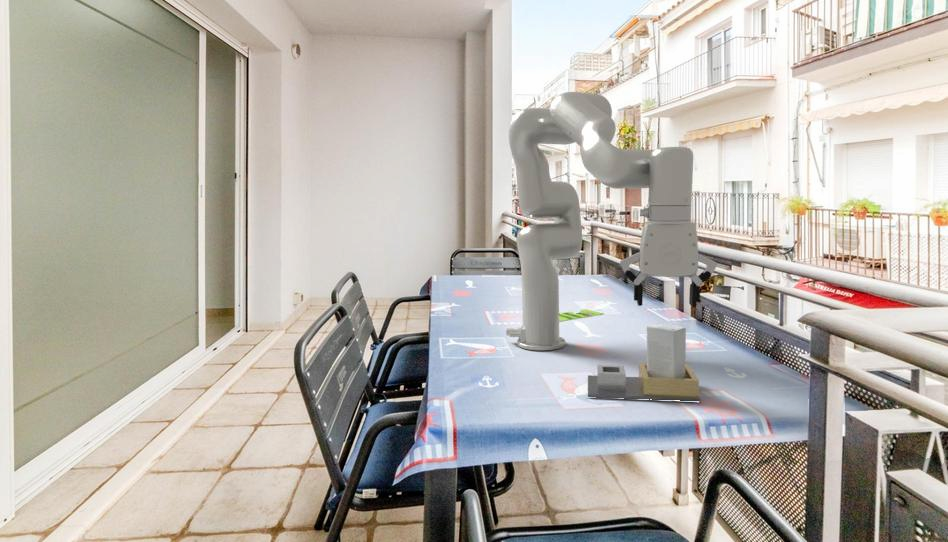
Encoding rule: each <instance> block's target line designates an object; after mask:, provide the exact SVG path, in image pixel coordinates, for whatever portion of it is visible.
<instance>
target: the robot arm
mask: <svg viewBox="0 0 948 542" xmlns="http://www.w3.org/2000/svg"><path fill="white" fill-rule="evenodd" d="M612 115H613V111H612V105H611V103H610V102H609V100H608V99H607V98H606V97H605V96H604V95H602V94H599V93H589V92H578V91H566V92H562V93H560V94H558V95H557V96H556V97H555V98H554V99H553V101H552V102H551V104H550V108H546V107H545V108H544V107H543V108H542V107H528V108H524V109H522V110H519V111H517V112H516V113H515V114H514V116H513V117H512V119H511V121H510V125H509V129H508V143H509V149H510V152H511V155H512V158H513V161H514V162H513V163H514V166H515V175H516V176H515V177H516V185H517V196H518V204H519V205H518V206H519V209H520V212H521V214H522V216H523V217H525V218H527V219H531V220H532V219H533V220H537V219H553V222H554V223H552V222H551V223H550V222H549V223H547V222H546V223H535V224H530V225H529V224H528V225H526V226H524V227H523V228H522V229H520V231H519V232H518V234H517V238H516V248H517V252H518V257H519V264H520V271H521V272H520V273H521V274H520V275H521V297H522V298H521V305H522V306H521V308H522V309H521V310H522V313H521V314H522V326H521V327H518V328H506V330H505V331H506V333H505V334H506V336H507V337H510V338H518V339H517V340H516V344H517V346H518V347H520V348H522V349H525V350H530V351H552V350H553V351H554V350H559V349H561V348H564V347H565V345H566V339H565V338H564V337H562V336H560V322H559V313H560V288H559V287H560V286H559V285H560V284H559V283H560V282H559V281H560V280H559V275H558V272H557V271H556V269H555V266H554V265H553V263H552V261H554V260H566V259H572V258H574V257H576V256H577V255H578V254H579V253H580V252H581V249H582V248H583V247H582V246H583V228H582V220H581V216H582V215H581V208H580V198H579V195H578V192H577V190H576V189H575V187H574V186H573V185H572V184H571V183H570V182H567V181H552V179H551V173H550V164H549V161H548V159H547V156H546V155H545V154H544V152H543V151H542V149H541V148H540V147H539V144H543V145H544V144H545V145H572V144H574V143H576V144H577V145H578V146H579V147H580V157H581V161H582V164H583V166H584V167H585V169H586V170H587V172H589V174H591V175H592V176H593V177H594V178H595V179H596V180H597V181H599V183H601V184H603V185H604V186H606V187H608V188H611V189H620V190H621V189H648V200H647V201H648V202H647V203H648V205H647V207H646V208H643V209H641V208H640V210H639V217H644V218H646V219H647V222H644V223H643V225H642V226H643V227H642V231H641V238H640V243H639V244H640V245H639V252H635V253H634V254H632V255H630V256H628V257H626V258H624V259H622V260H620V261H619V265H620V267H621V269H622V270H623V273H624V275H625V276H626V277H627V279H628V280H629V281H631V282H632V283H633V301H635V302H636V303H637V307H641V306H643V300H644V299H643V298H644V297H643V295H644V294H643V293H644V291H643V289H644V285H643V283H642V282H643V281H644V280H645V279H646V278H647V277H654V278H656V277H657V278H658V277H661V278H663V277H664V278H689V279H690V280H691V283H690V284H689V302H688V303H689V305H690V306H691V307H692V308H697V303H700V299H701V287H702V286H703V284H704V283H706V282H707V280H709V279H710V278H711V277H712V274H713V273H714V272H715V269H716V268H717V266H718V262H716V261H715V260H712V259H710V258H708V257H706V256H705V255H702V254H701V253H699V246H698V245H699V243H698V232H697V231H698V230H697V225H696V222H692V221H691V220H692V219H691V217H692V199H693V197H692V195H693V178H694V177H693V173H694V153H693V150H692V149H691V148H690V147H686V146H665V147H663V146H662V147H659V148H658V147H657V148H656V149H641V148H640V149H639V148H618V147H617V146H615V145H613V143H612V141H613V139H614V138H615V134H616V130H617V129H616V122H615V120H614V119H613V118H612ZM636 262H638V269H639V271H638V272H637V273H636V274H635V273H634V272H633V271H632V270H631V269H630V265H632V264H634V263H636ZM699 262H700V263H702V264H704V265H705V266H706V267H705V269H704V271H702V272H701V273H700V274H699V275H698V274H697V273H698V270H699Z"/></svg>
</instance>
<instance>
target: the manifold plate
mask: <svg viewBox="0 0 948 542" xmlns="http://www.w3.org/2000/svg"><path fill="white" fill-rule="evenodd" d="M596 367H597V371H596V372H597V375H591V374H589V375H588V374H587V398H588V397H596V398H595V399H597V398H624V399H649V400H650V399H652V400H680V401H700V402H701V397H700V396H699V393H700V392H699V389H700V387H699V385H700V383H699V382H700V380H699V379H698V377H697V375H696V374H695V372H694V371H693V369H692V368H691V366H690V364H685V378H659V377H649V376H648V373H647V362H646V363H645V362H644V363H642V362H640V363H638V377H637V376H627V374H626V369H625V366H624V365H609V364H608V365H607V364H605V365H603V364H597V366H596Z"/></svg>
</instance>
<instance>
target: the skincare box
mask: <svg viewBox="0 0 948 542" xmlns="http://www.w3.org/2000/svg"><path fill="white" fill-rule="evenodd" d="M686 331H687V329H686V327H684V326H678V325H671V324H664V323H654V324H651V325H648V326H646V363H647V373H648V376H649V377H659V378H685V365H686V351H687V350H686V345H687V344H686V341H687V340H686V335H687V333H686Z"/></svg>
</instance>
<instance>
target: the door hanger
mask: <svg viewBox="0 0 948 542" xmlns="http://www.w3.org/2000/svg"><path fill="white" fill-rule="evenodd" d="M580 310H581V311H580V312H579V313H576V314H574V313H573V312H571V311H567V312H559V323H561V322H566V321H572V319H573V320H577V319H578V318H579V319H583V318H590V317H597V316H601V315H602V314H603V315H604V312H600V311H596V310H592V309H580ZM596 315H597V316H596Z"/></svg>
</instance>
